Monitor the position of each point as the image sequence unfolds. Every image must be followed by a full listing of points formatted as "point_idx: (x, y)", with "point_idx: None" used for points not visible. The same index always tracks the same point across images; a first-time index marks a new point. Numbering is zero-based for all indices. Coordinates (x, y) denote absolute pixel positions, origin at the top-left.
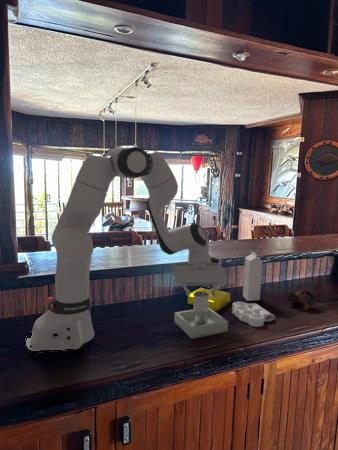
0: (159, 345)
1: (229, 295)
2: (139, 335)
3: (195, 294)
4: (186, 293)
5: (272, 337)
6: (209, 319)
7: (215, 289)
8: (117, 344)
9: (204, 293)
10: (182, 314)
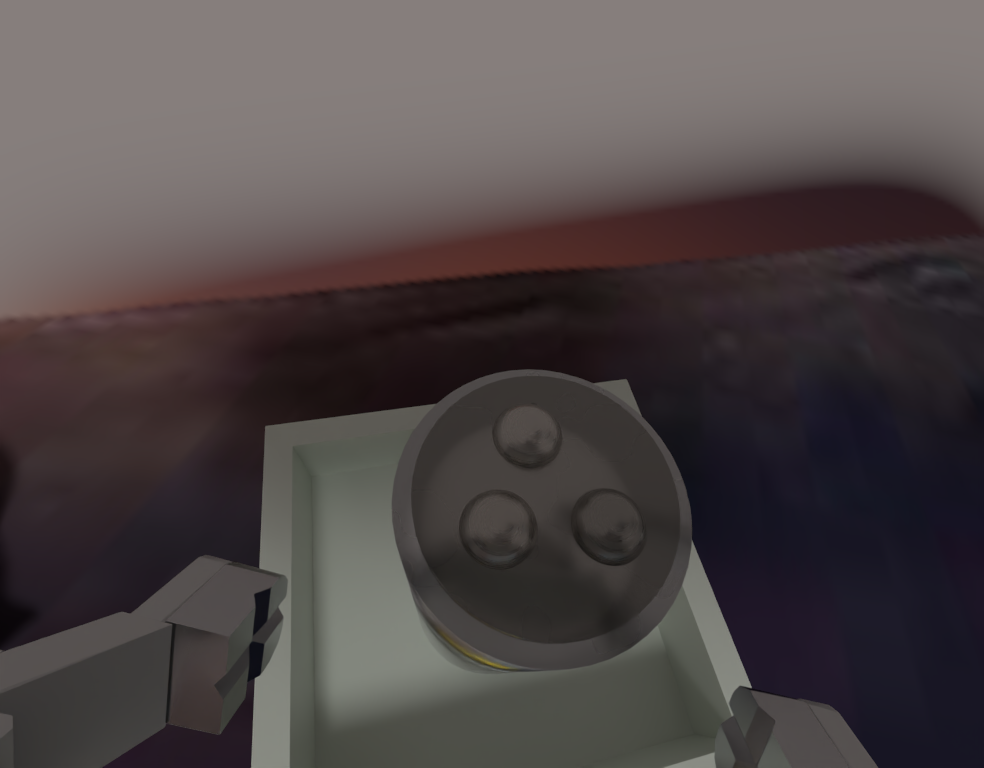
0: (800, 391)
1: None
2: (967, 539)
3: (670, 471)
4: (829, 721)
5: (28, 330)
6: (338, 715)
7: (97, 625)
8: None
9: (479, 482)
10: (673, 757)
